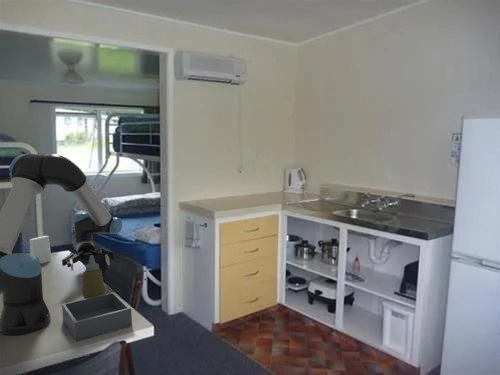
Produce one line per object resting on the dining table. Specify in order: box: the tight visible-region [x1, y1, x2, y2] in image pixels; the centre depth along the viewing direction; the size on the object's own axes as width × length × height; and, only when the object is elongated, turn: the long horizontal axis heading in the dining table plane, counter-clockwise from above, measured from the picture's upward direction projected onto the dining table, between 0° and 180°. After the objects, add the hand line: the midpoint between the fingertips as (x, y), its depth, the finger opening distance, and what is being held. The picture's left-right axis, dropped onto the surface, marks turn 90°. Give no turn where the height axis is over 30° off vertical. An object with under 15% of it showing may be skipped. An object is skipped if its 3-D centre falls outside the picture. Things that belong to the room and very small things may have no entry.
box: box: [61, 291, 133, 342], centre depth 138 cm, size 18×18×6 cm
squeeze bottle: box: [81, 255, 106, 299], centre depth 156 cm, size 8×8×18 cm
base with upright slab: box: [29, 235, 52, 265], centre depth 207 cm, size 9×9×12 cm
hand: (90, 264), depth 164 cm, fingers open, 13 cm apart
